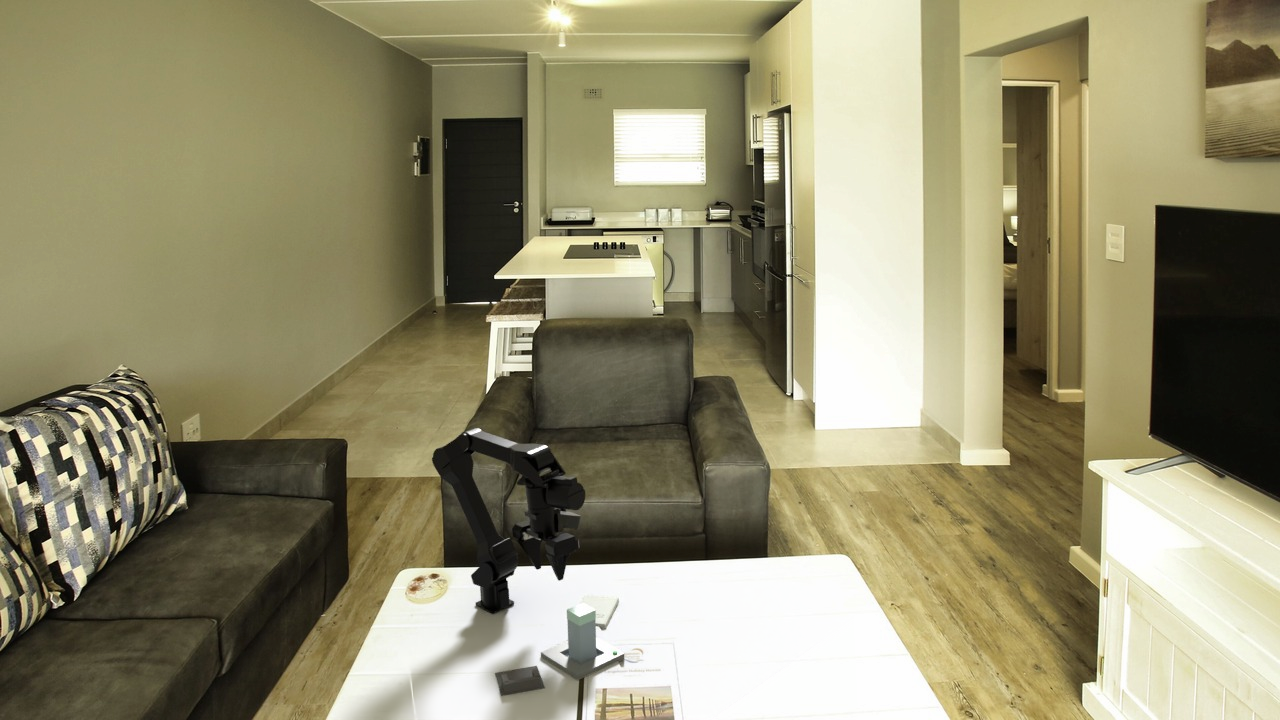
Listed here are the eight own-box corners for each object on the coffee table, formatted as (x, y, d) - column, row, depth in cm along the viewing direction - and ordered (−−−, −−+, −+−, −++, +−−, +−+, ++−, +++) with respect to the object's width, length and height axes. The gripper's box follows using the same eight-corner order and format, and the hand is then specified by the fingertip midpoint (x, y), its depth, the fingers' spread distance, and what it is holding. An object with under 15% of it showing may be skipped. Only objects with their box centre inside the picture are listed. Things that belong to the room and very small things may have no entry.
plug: (568, 659, 189) (566, 609, 187) (584, 652, 192) (582, 602, 190) (580, 667, 186) (579, 616, 184) (596, 659, 189) (595, 609, 187)
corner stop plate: (494, 675, 184) (494, 663, 183) (536, 667, 186) (536, 656, 186) (501, 698, 176) (500, 686, 176) (545, 690, 178) (544, 678, 178)
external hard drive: (618, 603, 214) (605, 630, 202) (584, 600, 215) (569, 627, 203) (618, 597, 213) (605, 623, 201) (584, 594, 215) (569, 620, 203)
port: (541, 658, 190) (540, 650, 189) (587, 638, 197) (586, 630, 197) (577, 682, 181) (577, 674, 180) (624, 659, 189) (624, 651, 188)
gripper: (596, 503, 196) (604, 574, 198) (550, 487, 211) (558, 553, 213) (551, 518, 189) (559, 590, 192) (507, 500, 204) (515, 567, 207)
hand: (549, 574), depth 201 cm, fingers open, 9 cm apart
